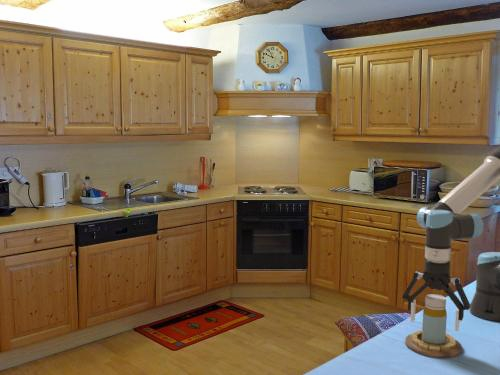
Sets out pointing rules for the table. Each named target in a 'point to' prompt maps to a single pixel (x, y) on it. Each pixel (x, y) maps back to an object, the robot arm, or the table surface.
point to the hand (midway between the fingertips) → (434, 325)
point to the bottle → (434, 320)
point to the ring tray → (433, 354)
